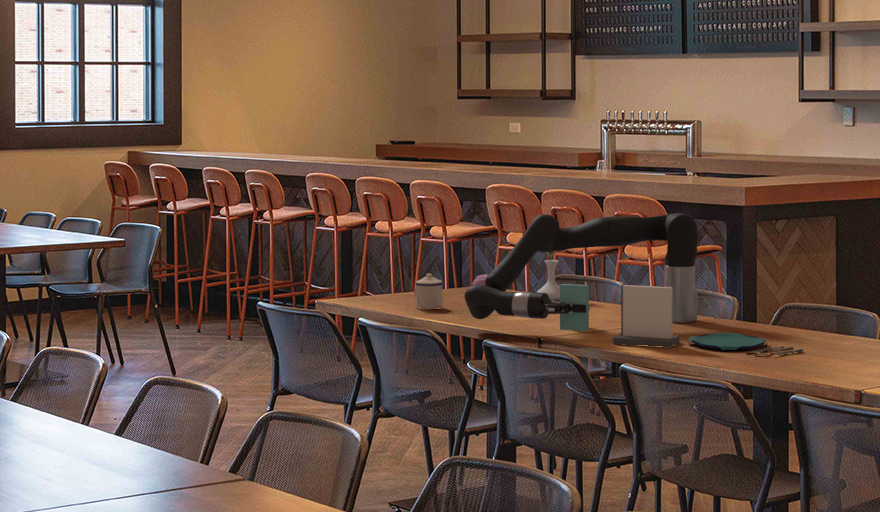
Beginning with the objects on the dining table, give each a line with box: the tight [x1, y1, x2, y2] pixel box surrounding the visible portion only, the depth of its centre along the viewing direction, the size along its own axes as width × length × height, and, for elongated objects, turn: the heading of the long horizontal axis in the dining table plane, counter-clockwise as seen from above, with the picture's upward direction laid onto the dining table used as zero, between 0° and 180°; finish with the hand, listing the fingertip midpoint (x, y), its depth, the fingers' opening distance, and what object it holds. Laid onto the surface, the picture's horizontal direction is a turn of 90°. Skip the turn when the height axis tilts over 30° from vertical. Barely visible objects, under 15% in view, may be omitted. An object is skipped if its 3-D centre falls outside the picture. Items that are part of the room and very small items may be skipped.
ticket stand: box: [612, 284, 680, 347], centre depth 345 cm, size 16×10×16 cm, turn 64°
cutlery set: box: [688, 332, 804, 355], centre depth 337 cm, size 20×30×2 cm, turn 34°
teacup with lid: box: [414, 273, 443, 309], centre depth 417 cm, size 12×9×12 cm
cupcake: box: [471, 273, 489, 287], centre depth 427 cm, size 9×9×10 cm
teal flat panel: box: [559, 283, 590, 332], centre depth 354 cm, size 8×2×13 cm, turn 64°
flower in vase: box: [536, 251, 560, 301], centre depth 432 cm, size 13×11×25 cm
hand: (587, 308), depth 352 cm, fingers closed on teal flat panel, 2 cm apart
